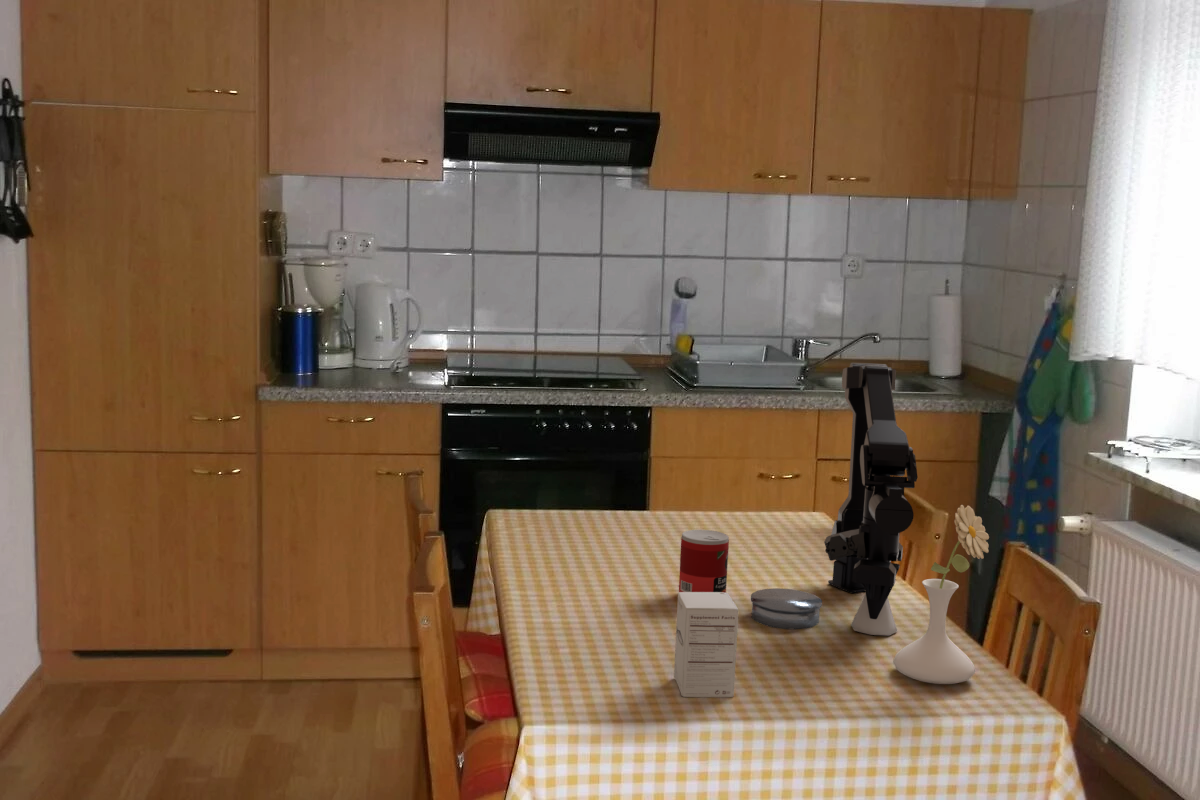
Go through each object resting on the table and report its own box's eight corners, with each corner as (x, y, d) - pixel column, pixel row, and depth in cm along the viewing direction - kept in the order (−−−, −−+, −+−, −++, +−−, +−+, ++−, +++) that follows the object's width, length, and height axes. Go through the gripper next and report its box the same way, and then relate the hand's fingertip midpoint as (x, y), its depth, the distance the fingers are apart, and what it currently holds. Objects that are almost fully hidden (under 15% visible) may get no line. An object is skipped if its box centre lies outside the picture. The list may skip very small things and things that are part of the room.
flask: (899, 626, 208) (904, 565, 207) (894, 639, 202) (899, 577, 200) (854, 619, 211) (858, 560, 209) (847, 633, 204) (851, 571, 202)
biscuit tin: (792, 605, 218) (793, 585, 217) (835, 626, 208) (836, 605, 207) (735, 613, 212) (737, 592, 212) (776, 634, 202) (777, 613, 202)
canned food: (723, 607, 214) (726, 542, 213) (675, 602, 216) (678, 538, 214) (728, 594, 222) (731, 531, 220) (681, 589, 223) (684, 527, 222)
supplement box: (672, 678, 182) (676, 590, 180) (725, 678, 182) (729, 591, 180) (680, 698, 174) (684, 607, 172) (734, 698, 175) (739, 607, 173)
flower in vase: (929, 696, 178) (943, 518, 175) (875, 668, 188) (888, 500, 185) (1000, 683, 184) (1015, 511, 181) (944, 657, 194) (957, 494, 191)
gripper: (837, 500, 214) (830, 591, 217) (822, 525, 197) (815, 624, 199) (906, 507, 211) (899, 600, 214) (897, 533, 194) (889, 634, 196)
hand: (874, 613), depth 206 cm, fingers closed on flask, 5 cm apart
